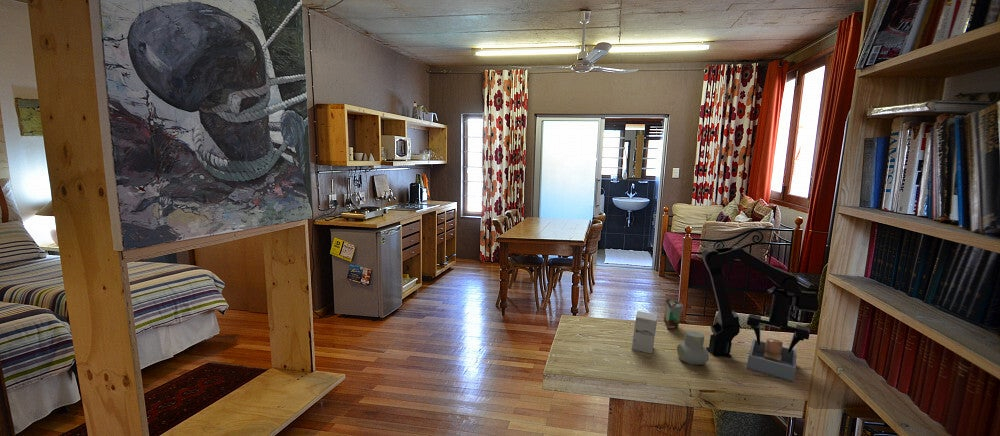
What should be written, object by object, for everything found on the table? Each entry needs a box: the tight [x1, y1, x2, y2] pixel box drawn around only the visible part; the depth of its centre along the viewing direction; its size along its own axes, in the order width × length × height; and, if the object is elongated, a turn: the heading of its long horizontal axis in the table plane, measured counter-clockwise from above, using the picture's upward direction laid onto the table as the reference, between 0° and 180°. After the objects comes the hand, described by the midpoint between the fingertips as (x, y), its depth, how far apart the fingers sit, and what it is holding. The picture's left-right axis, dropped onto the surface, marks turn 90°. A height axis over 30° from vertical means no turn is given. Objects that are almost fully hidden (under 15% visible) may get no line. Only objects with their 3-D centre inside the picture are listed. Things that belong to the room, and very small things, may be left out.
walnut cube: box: [763, 351, 782, 363], centre depth 154 cm, size 5×5×5 cm
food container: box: [663, 297, 685, 331], centre depth 188 cm, size 12×6×10 cm, turn 168°
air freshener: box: [676, 330, 710, 366], centre depth 156 cm, size 11×8×10 cm
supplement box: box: [631, 310, 659, 355], centre depth 164 cm, size 7×7×13 cm
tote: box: [746, 338, 797, 383], centre depth 157 cm, size 18×14×5 cm
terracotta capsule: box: [764, 337, 784, 355], centre depth 161 cm, size 5×5×7 cm
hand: (773, 348), depth 161 cm, fingers open, 9 cm apart
